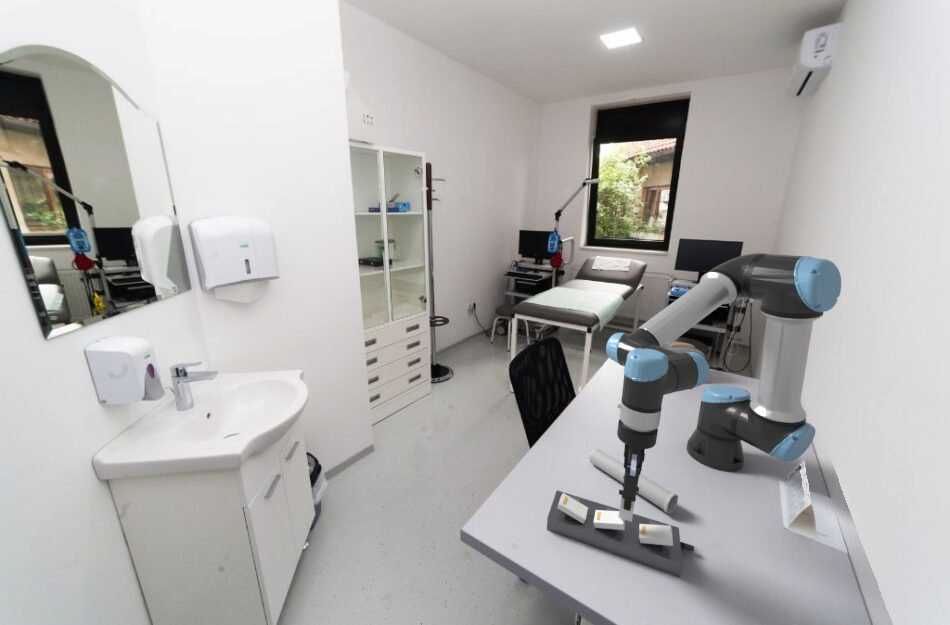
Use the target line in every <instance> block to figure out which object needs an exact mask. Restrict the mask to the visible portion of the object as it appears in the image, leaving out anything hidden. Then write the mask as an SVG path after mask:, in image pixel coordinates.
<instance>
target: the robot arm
mask: <svg viewBox="0 0 950 625" xmlns="http://www.w3.org/2000/svg"><path fill="white" fill-rule="evenodd" d="M840 272H841V271H840V269H839V268H838V266H837V265H836V264H835V263H834V262H832V261H831V260H830V259H829V260H828V259H826V258H817V257H812V256H809V255H808V256H805V255H804V256H802V255H788V254H772V253H771V254H769V253H761V252H760V253H758V252H757V253H756V252H755V253H748V254H744V255H740V256H737V257H733V258H731V259H729V260H727V261H725V262H723V263H721V264H719V265H717V266H715V267H713V268H712V269H710V270H709V271H707V272H706V273H704V274H703V275H702V276H701V278H700V280H699V283H698V284H695V285H694V286H693V287H692V288H691V289H690V290H688V291H687V292H685V293H683V294H682V295H681V296H680V297H678V298H677V299H675V300H674V301H673V302H672V303H670V304H669V305H667V306H666V307H665V308H663V309H662V310H660V311H659V312H658V313H656V314H655V315H654V316H652V317H651V318H650V319H648V320H647V321H646V322H644V323H643V324H641V326H639V327H638V328H637V329H636V330H635V329H634V331H632V332H631V333H629V334H628V333H626V332H615V333H613V334H612V335H611V336H610V337H609V338H608V340H607V343H606V345H605V346H606V348H605V351H606V355H607V356H608V358H609V359H610V360H611V361H614V363H617V364H618V365H620V366H622V367H624V368H623V373H624V374H623V383H622V384H623V385H622V392H621V393H622V394H621V402H620V403H618V404H617V407H616V408H618V409H619V420H618V425H617V431H616V432H617V433H616V435H617V437H618V439H619V440H620V442H622V443H623V444H624V451H623V458H624V459H623V460H624V461H623V464H624V468H625V474H624V477H623V478H624V483H622V487H623V488H622V489H618V490H619V491H618V495H620V504H619V509H620V510H619V518H621V519H624V520H627V521H630V522H632V517H633V514H634V510H635V509H634V508H635V503H636V500H637V492H639V487H637V486H638V480H639V475H640V474H641V473H642V468H643V463H644V461H645V456H646V452H645V450H648V449H651V448H653V447H655V445H656V444H657V438H658V432H659V426H660V421H661V414H662V406H663V399H664V396H665V395H670V394H672V393H676V392H682V391H686V390H692V389H694V388H696V387H699V386H702V385H704V384H705V383H706V382H707V381H708V380H709V378H710V365H709V363H708V362H707V360H706V358H705V359H704V358H703V357H702V356H701V355H699V354H698V353H695V352H682V353H676V352H674V351H671V350H668V349H665V347H667V346H668V345H669V344H671V343H672V342H676V340H677V339H679V338H680V337H681V336H683V335H684V334H685V333H686V332H688V331H689V330H691V328H693V327H695V326H696V325H697V324H698V323H699V322H701V321H702V320H703V319H705V318H706V317H707V316H709V315H710V314H711V313H712V312H713V311H716V310H717V309H718V308H719V307H720V306H722V305H727V304H731V303H732V302H734V301H735V300H737V299H742V298H744V299H751V300H757V301H760V309H759V310H760V313H762V314H763V315H764V316H765V317H766V326H765V332H764V333H765V334H764V341H763V350H762V357H761V367H760V375H759V383H758V384H759V385H758V393H757V397H754V398H753V399H751V398H752V396H751V393H750V392H749V390H746V389H744V388H740V387H738V386H735V385H734V386H732V385H728V384H727V385H725V384H714V385H713V384H711V385H709V386H706V387H705V388H704V389H703V391H702V392H703V393H702V395H701V398H700V406H699V413H698V418H697V422H696V428H695V429H694V431H693V433H692V434H691V435H690V437H689V438H688V440H687V444H686V452H687V453H688V455H689V456H690V457H691V458H692V459H694V460H695V461H696V462H698V463H700V464H702V465H703V466H706V467H708V468H711V469H714V470H717V471H722V472H723V471H724V472H736V471H739V470H741V469H743V467H744V462H745V456H744V455H745V454H744V451H743V450H744V449H743V445H742V442H744V443H746V444H748V445H750V446H752V447H754V448H756V449H758V450H759V451H761V452H764V453H765V454H768V455H769V456H770V457H774V458H776V459H778V460H779V461H782V462H786V463H790V462H794V461H796V460H798V459H799V458H800V457H801V456H802V455H803V454H804V453H806V451H807V450H808V449H809V447H810V445H811V444H812V442H813V440H814V439H815V438H814V437H815V436H816V428H815V427H814V426H813V425H812V423H808V422H806V420H807V412H806V410H805V409H804V408H803V407H802V406H801V402H802V401H801V400H802V394H803V389H804V388H803V387H804V382H805V381H804V380H805V374H806V370H807V369H806V368H807V363H808V355H809V351H810V350H809V349H810V343H811V337H812V332H813V331H812V330H813V324H814V322H815V321H816V320H818V319H820V318H822V317H823V316H824V312H829V311H830V310H832V309H833V308H834V307H835V306H836V304H837V302H838V298H839V297H840V294H841V290H842V277H841V273H840ZM641 475H642V474H641Z"/></svg>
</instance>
